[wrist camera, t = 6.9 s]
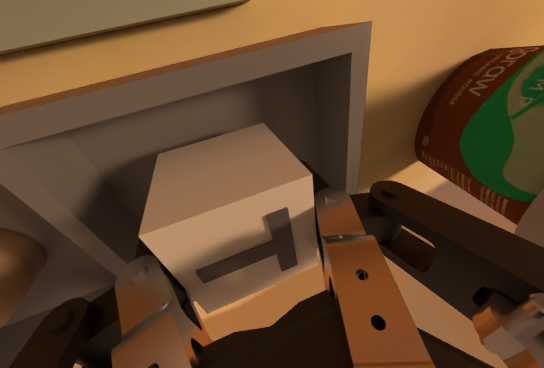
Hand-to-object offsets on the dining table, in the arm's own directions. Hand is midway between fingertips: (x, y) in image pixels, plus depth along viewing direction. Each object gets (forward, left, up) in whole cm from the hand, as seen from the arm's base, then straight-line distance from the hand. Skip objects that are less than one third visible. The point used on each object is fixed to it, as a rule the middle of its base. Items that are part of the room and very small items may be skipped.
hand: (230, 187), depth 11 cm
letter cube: (0, 0, -1) cm, 1 cm away
